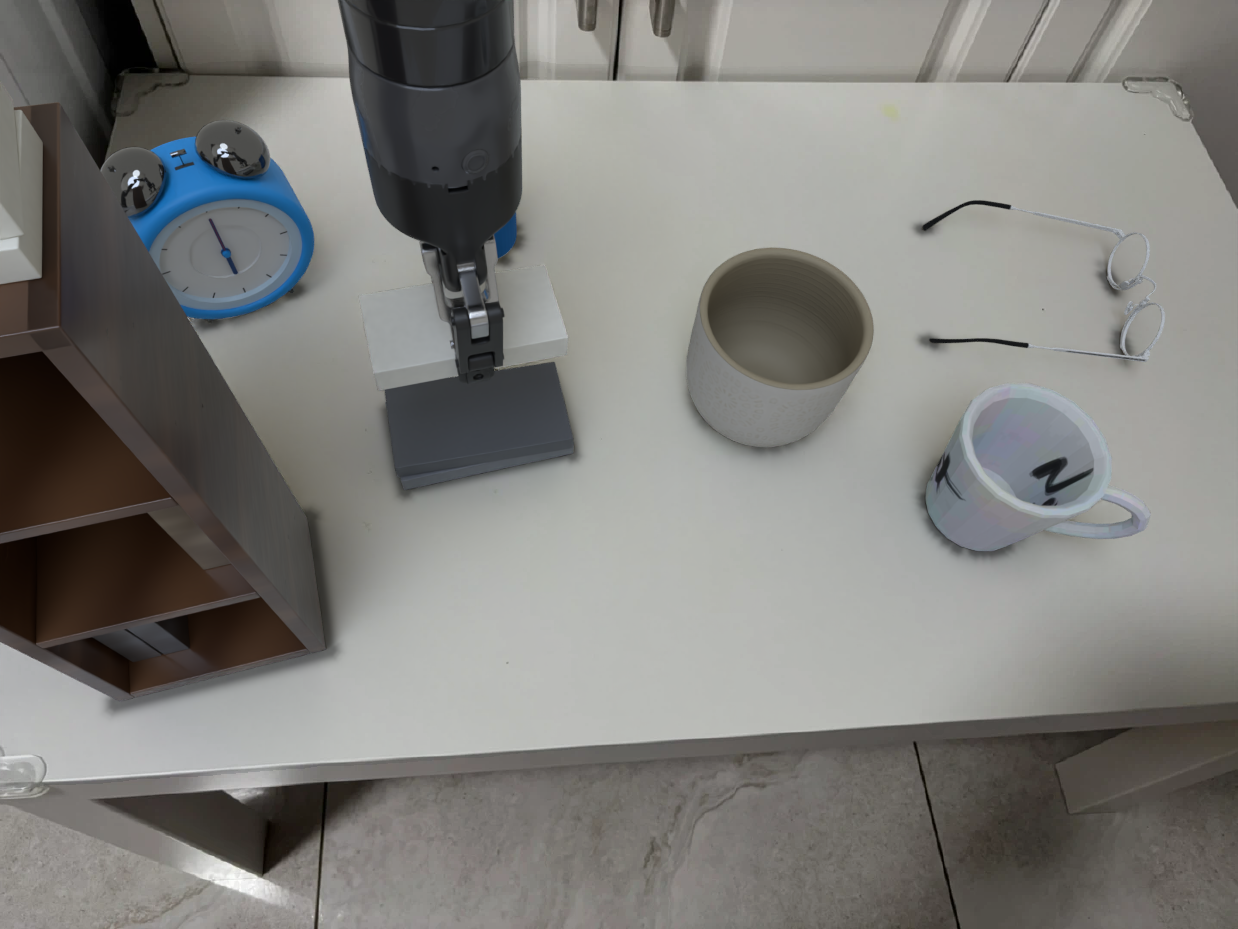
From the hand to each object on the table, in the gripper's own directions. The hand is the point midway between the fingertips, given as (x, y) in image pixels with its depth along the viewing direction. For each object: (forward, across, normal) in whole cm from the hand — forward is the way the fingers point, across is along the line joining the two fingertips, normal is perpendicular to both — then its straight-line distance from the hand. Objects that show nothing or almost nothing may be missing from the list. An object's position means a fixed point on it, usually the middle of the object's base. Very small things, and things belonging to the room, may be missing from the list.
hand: (465, 333), depth 55 cm
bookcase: (+13, +9, -20) cm, 25 cm away
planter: (+13, +2, +22) cm, 26 cm away
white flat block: (0, 0, 0) cm, 0 cm away
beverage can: (+13, -19, +4) cm, 23 cm away
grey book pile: (+13, 0, 0) cm, 13 cm away
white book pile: (-23, +9, -20) cm, 32 cm away
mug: (+13, +17, +37) cm, 43 cm away
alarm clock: (+13, -18, -16) cm, 27 cm away
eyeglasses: (+12, -2, +50) cm, 52 cm away
